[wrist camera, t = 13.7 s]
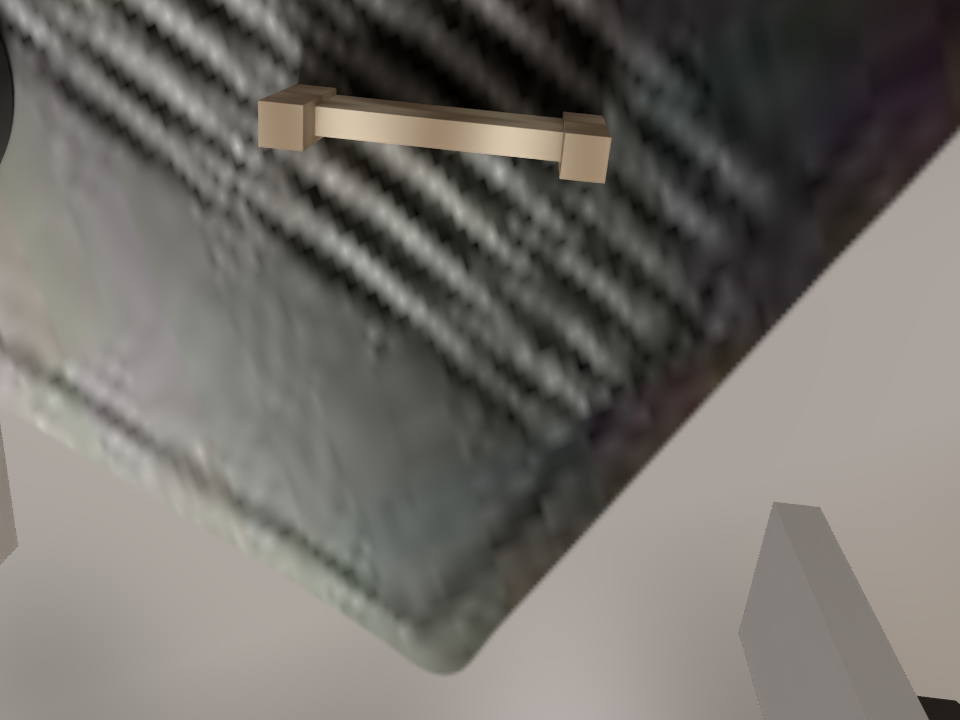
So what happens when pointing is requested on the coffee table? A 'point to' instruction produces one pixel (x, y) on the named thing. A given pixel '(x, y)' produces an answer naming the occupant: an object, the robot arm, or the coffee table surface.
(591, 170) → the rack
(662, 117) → the coffee table surface
